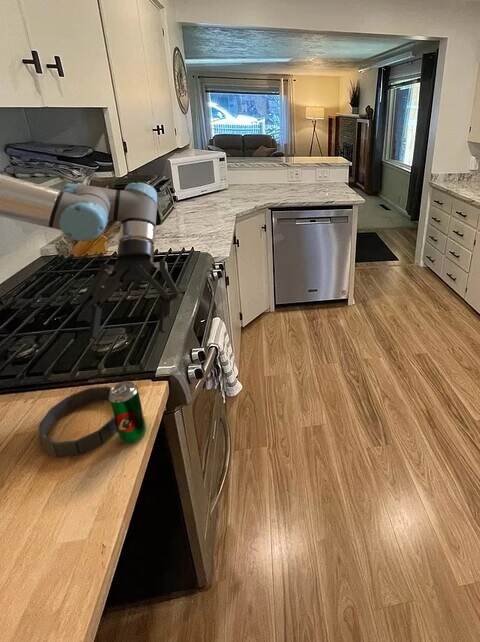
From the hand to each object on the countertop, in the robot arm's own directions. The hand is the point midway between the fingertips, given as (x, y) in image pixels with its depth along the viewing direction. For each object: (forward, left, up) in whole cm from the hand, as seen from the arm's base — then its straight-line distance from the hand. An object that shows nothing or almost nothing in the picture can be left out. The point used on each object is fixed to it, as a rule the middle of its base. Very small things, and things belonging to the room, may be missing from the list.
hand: (128, 335), depth 76 cm
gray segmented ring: (-5, -10, -18) cm, 21 cm away
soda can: (+6, -8, -18) cm, 20 cm away
